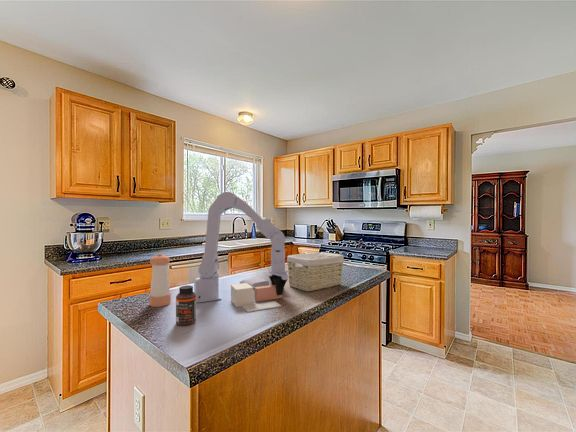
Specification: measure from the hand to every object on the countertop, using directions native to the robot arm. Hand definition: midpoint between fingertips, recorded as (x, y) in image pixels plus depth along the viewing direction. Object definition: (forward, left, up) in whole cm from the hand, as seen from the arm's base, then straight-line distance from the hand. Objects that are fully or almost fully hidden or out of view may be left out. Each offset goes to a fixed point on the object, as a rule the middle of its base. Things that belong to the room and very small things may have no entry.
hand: (278, 293), depth 112 cm
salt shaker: (-43, +13, -2) cm, 45 cm away
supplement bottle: (-36, -11, -2) cm, 38 cm away
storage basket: (+24, +9, -2) cm, 25 cm away
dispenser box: (-15, 0, -1) cm, 15 cm away
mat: (-10, -8, -1) cm, 13 cm away
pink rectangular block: (-4, 0, -1) cm, 4 cm away
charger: (-6, +17, -2) cm, 18 cm away
